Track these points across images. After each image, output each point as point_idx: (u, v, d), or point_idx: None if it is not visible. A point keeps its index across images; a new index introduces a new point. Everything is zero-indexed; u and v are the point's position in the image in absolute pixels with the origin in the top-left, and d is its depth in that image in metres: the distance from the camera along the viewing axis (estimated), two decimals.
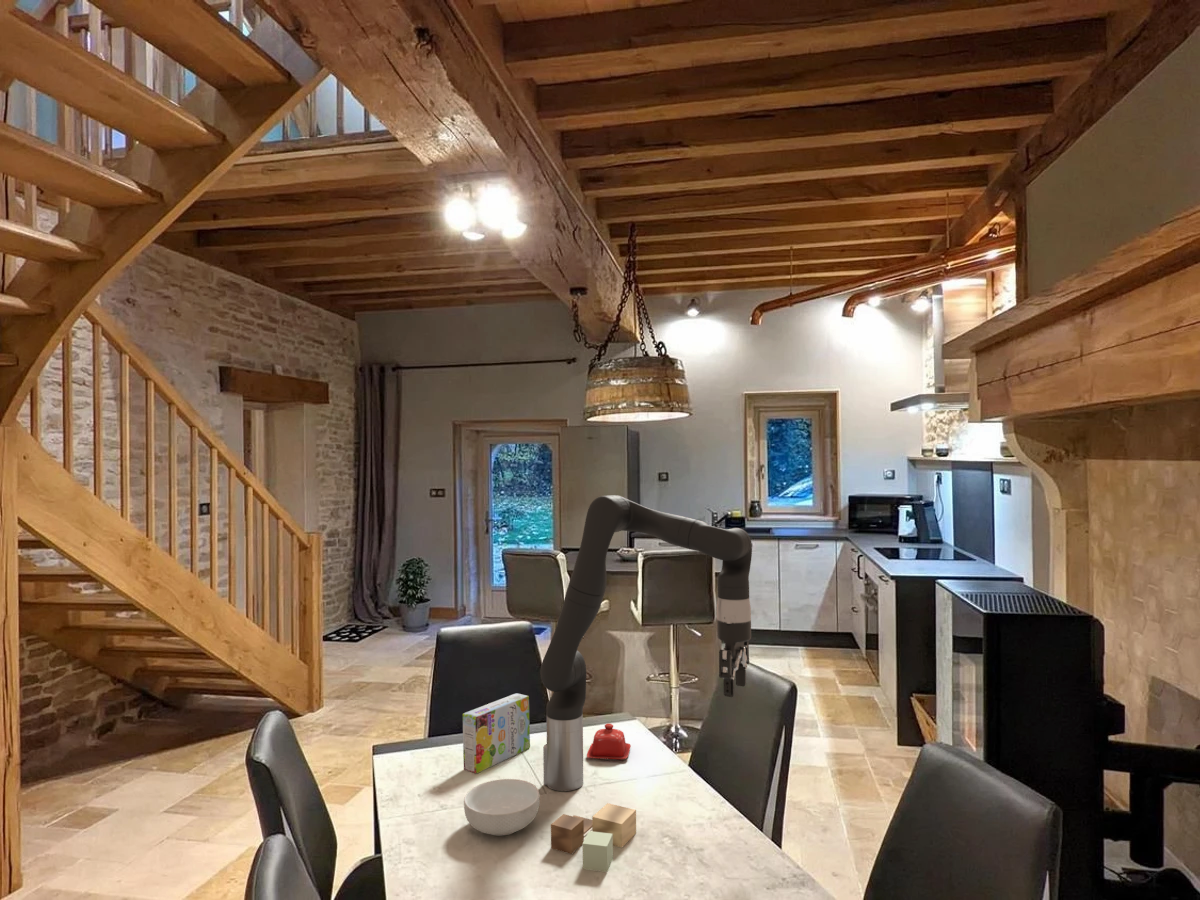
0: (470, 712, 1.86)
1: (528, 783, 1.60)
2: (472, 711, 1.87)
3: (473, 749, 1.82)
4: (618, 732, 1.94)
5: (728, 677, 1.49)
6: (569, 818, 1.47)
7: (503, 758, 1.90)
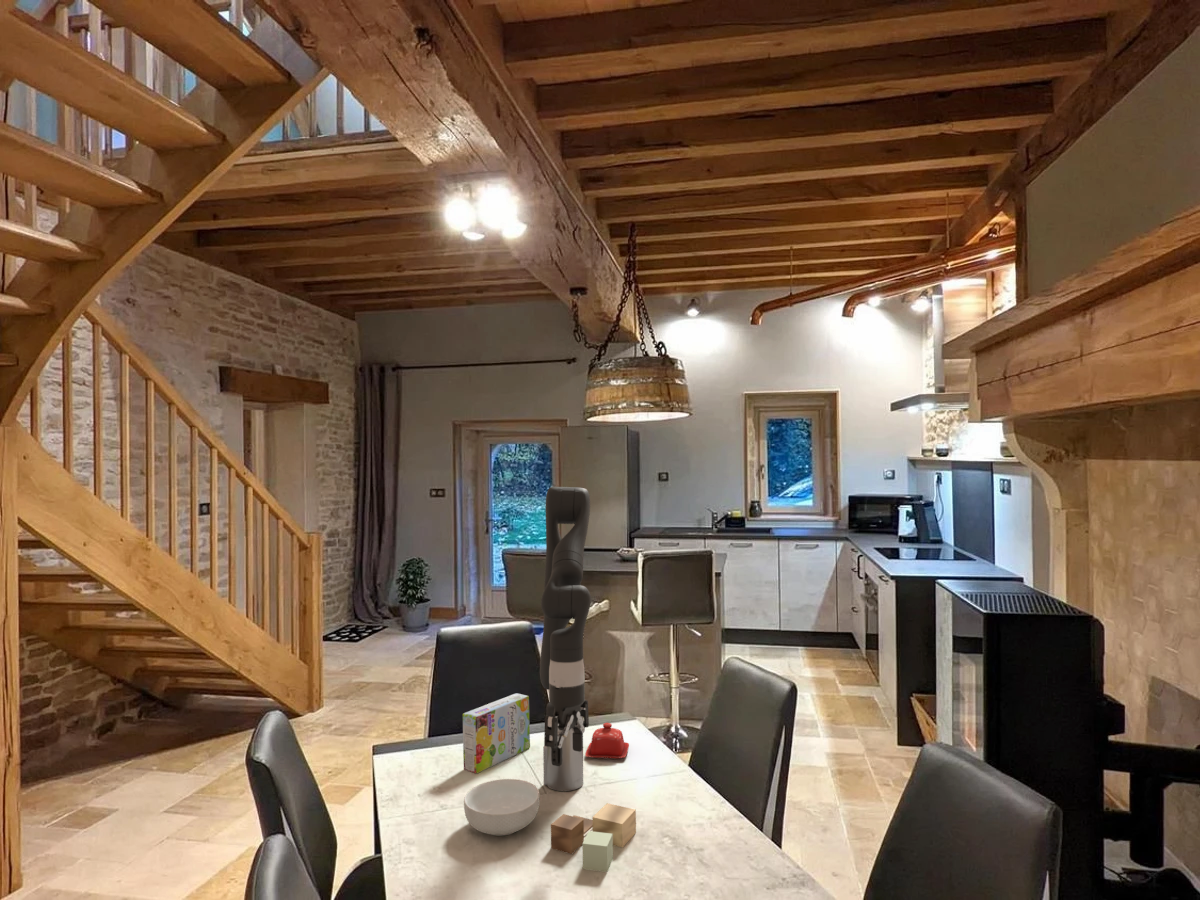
0: (470, 712, 1.86)
1: (528, 783, 1.60)
2: (472, 711, 1.87)
3: (473, 749, 1.82)
4: (616, 731, 1.94)
5: (553, 746, 1.40)
6: (569, 818, 1.47)
7: (503, 758, 1.90)
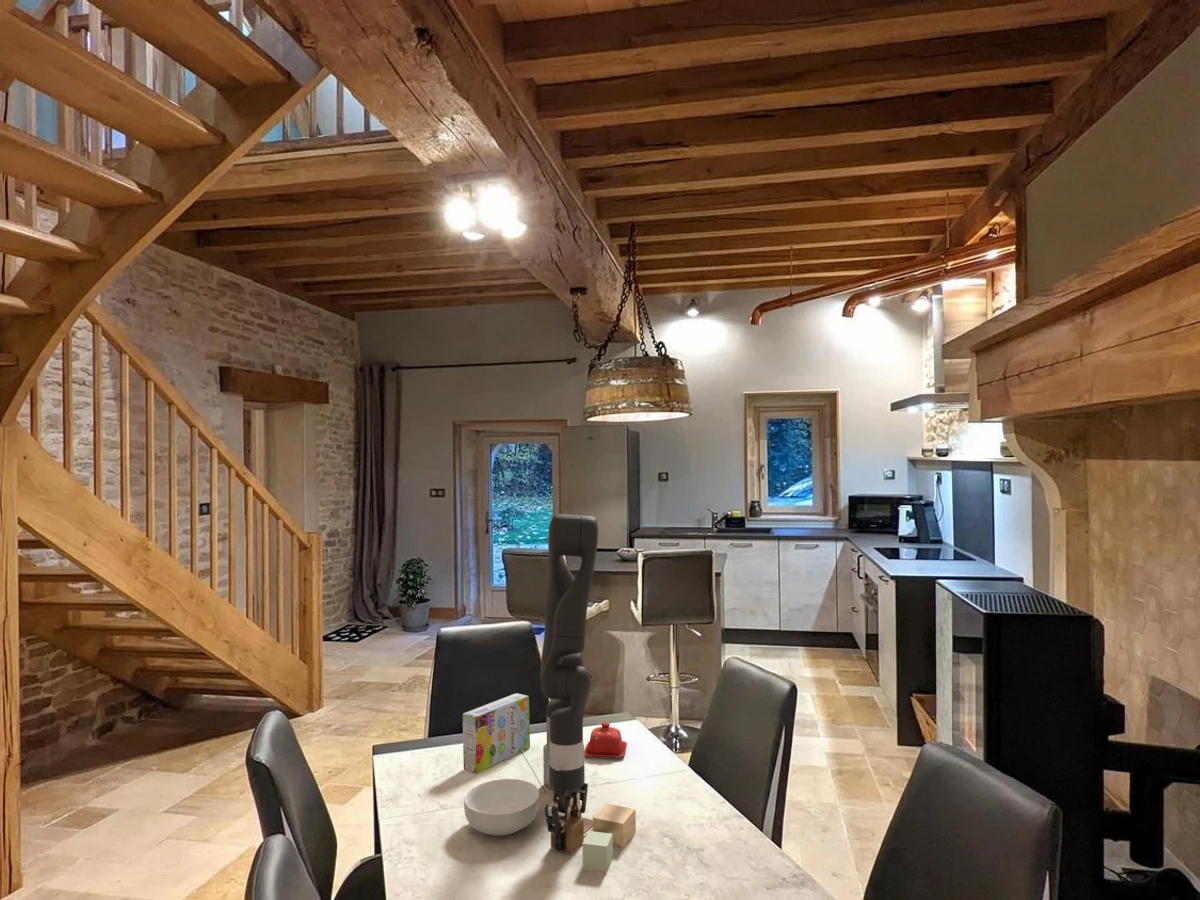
0: (470, 712, 1.86)
1: (528, 783, 1.60)
2: (472, 711, 1.87)
3: (473, 749, 1.82)
4: (614, 730, 1.95)
5: (556, 833, 1.41)
6: (569, 818, 1.47)
7: (503, 758, 1.90)
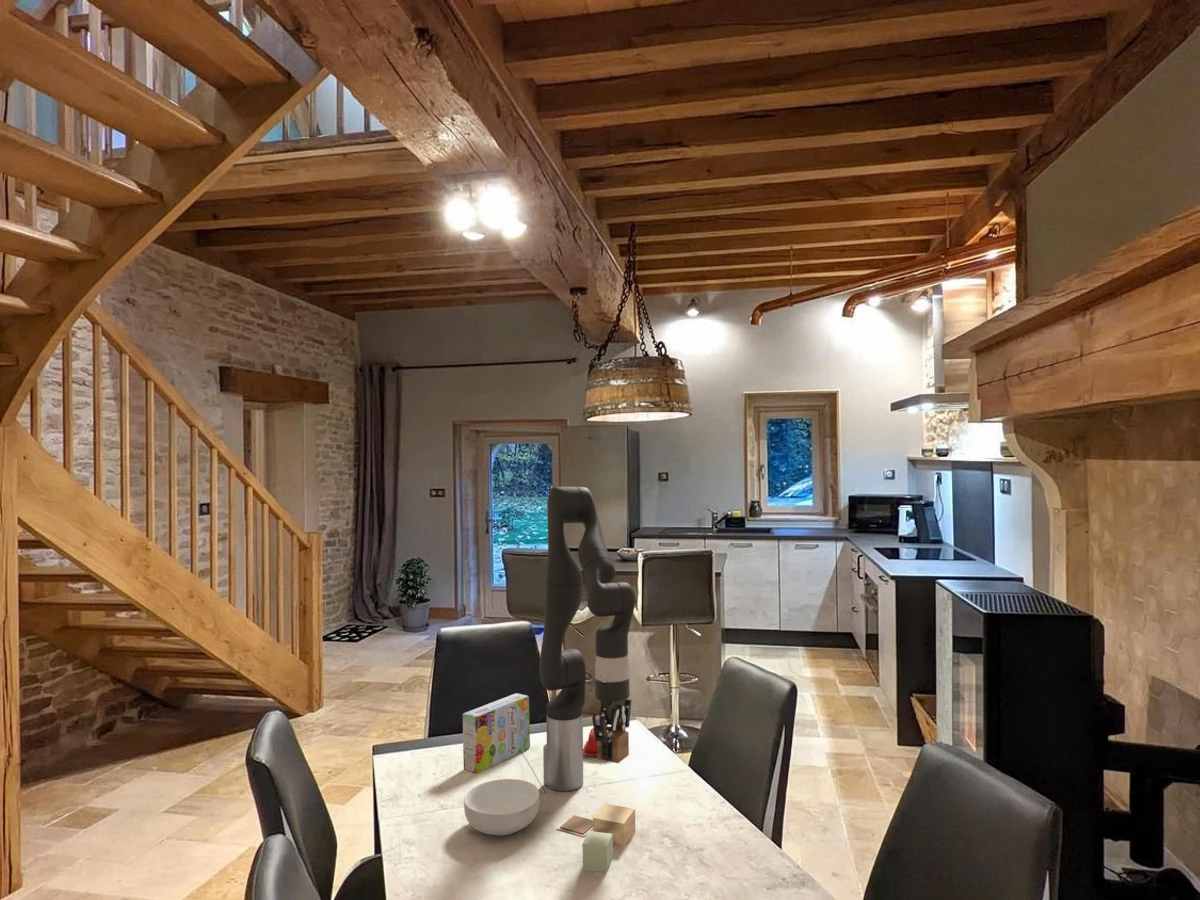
0: (470, 712, 1.86)
1: (528, 783, 1.60)
2: (472, 711, 1.87)
3: (473, 749, 1.82)
4: None
5: (604, 741, 1.45)
6: (614, 731, 1.52)
7: (503, 758, 1.90)
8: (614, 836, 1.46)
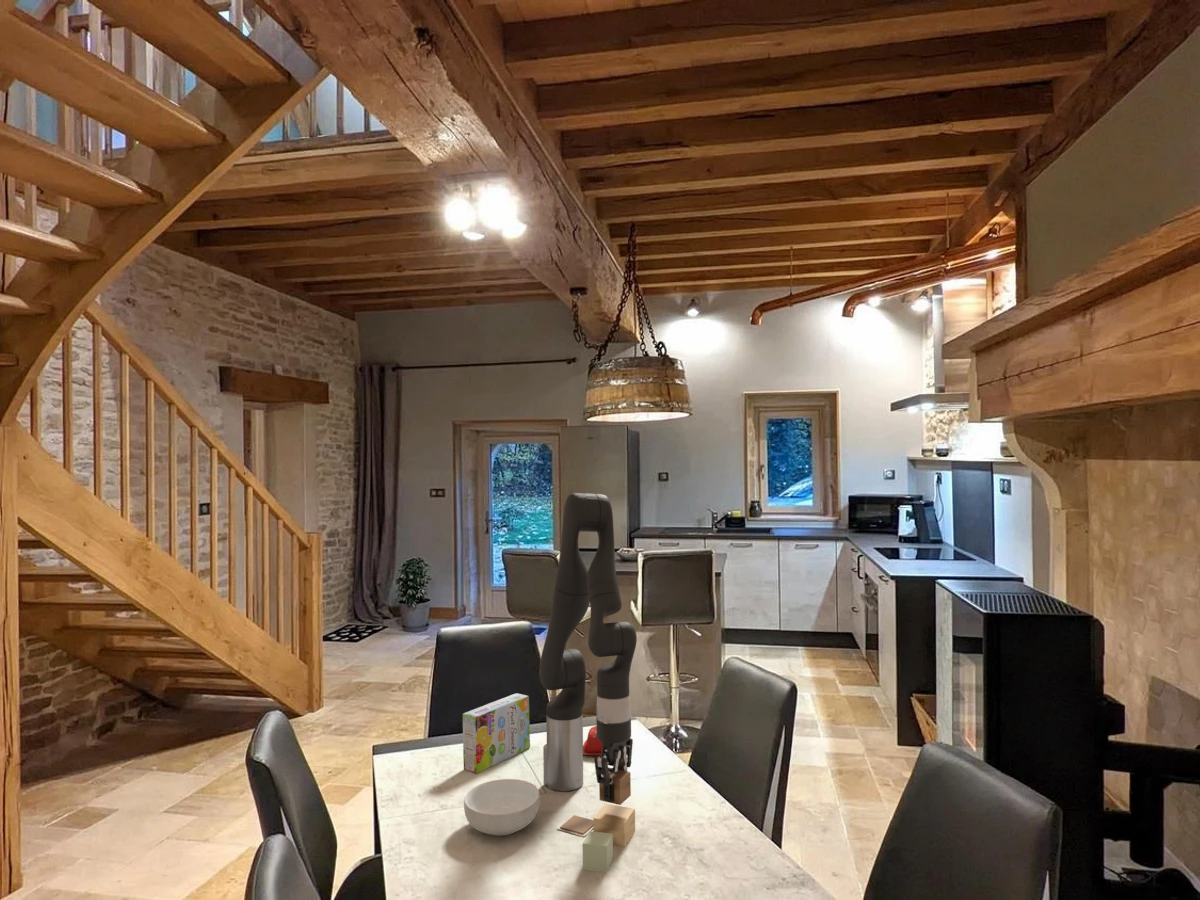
0: (470, 712, 1.86)
1: (528, 783, 1.60)
2: (472, 711, 1.87)
3: (473, 749, 1.82)
4: None
5: (606, 784, 1.45)
6: None
7: (503, 758, 1.90)
8: (614, 836, 1.46)
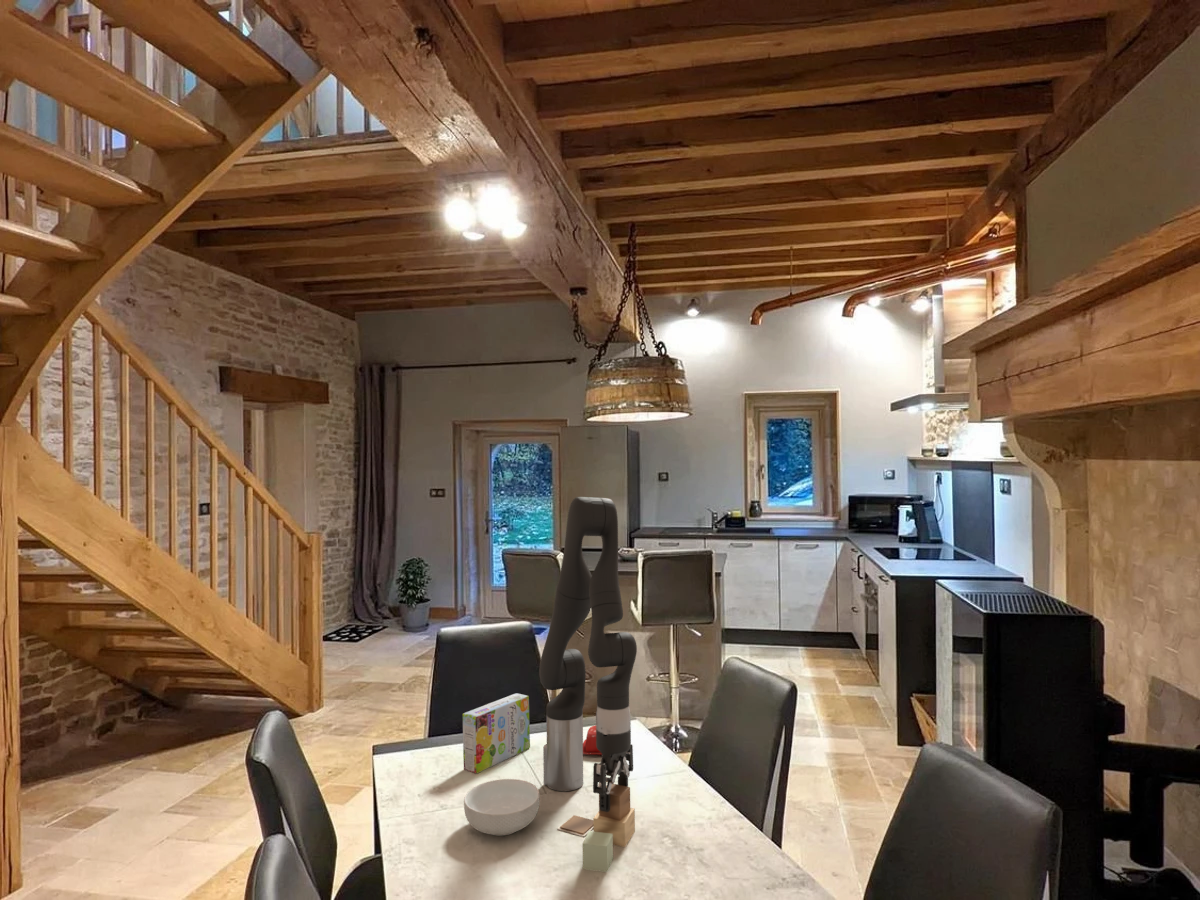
0: (470, 712, 1.86)
1: (528, 783, 1.60)
2: (472, 711, 1.87)
3: (473, 749, 1.82)
4: None
5: (602, 793, 1.43)
6: (616, 786, 1.51)
7: (503, 758, 1.90)
8: (615, 836, 1.46)
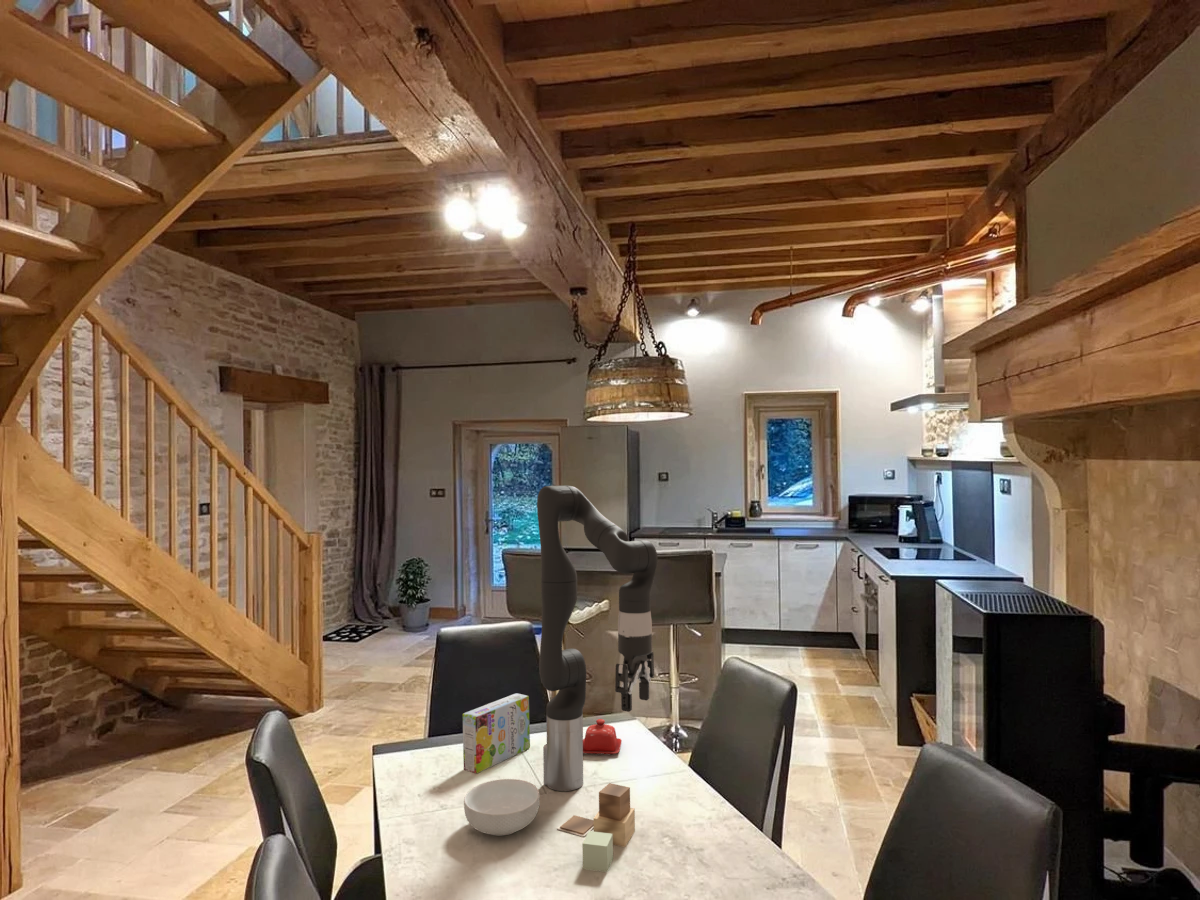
0: (470, 712, 1.86)
1: (528, 783, 1.60)
2: (472, 711, 1.87)
3: (473, 749, 1.82)
4: (609, 727, 1.97)
5: (623, 692, 1.47)
6: (615, 786, 1.51)
7: (503, 758, 1.90)
8: (615, 836, 1.46)
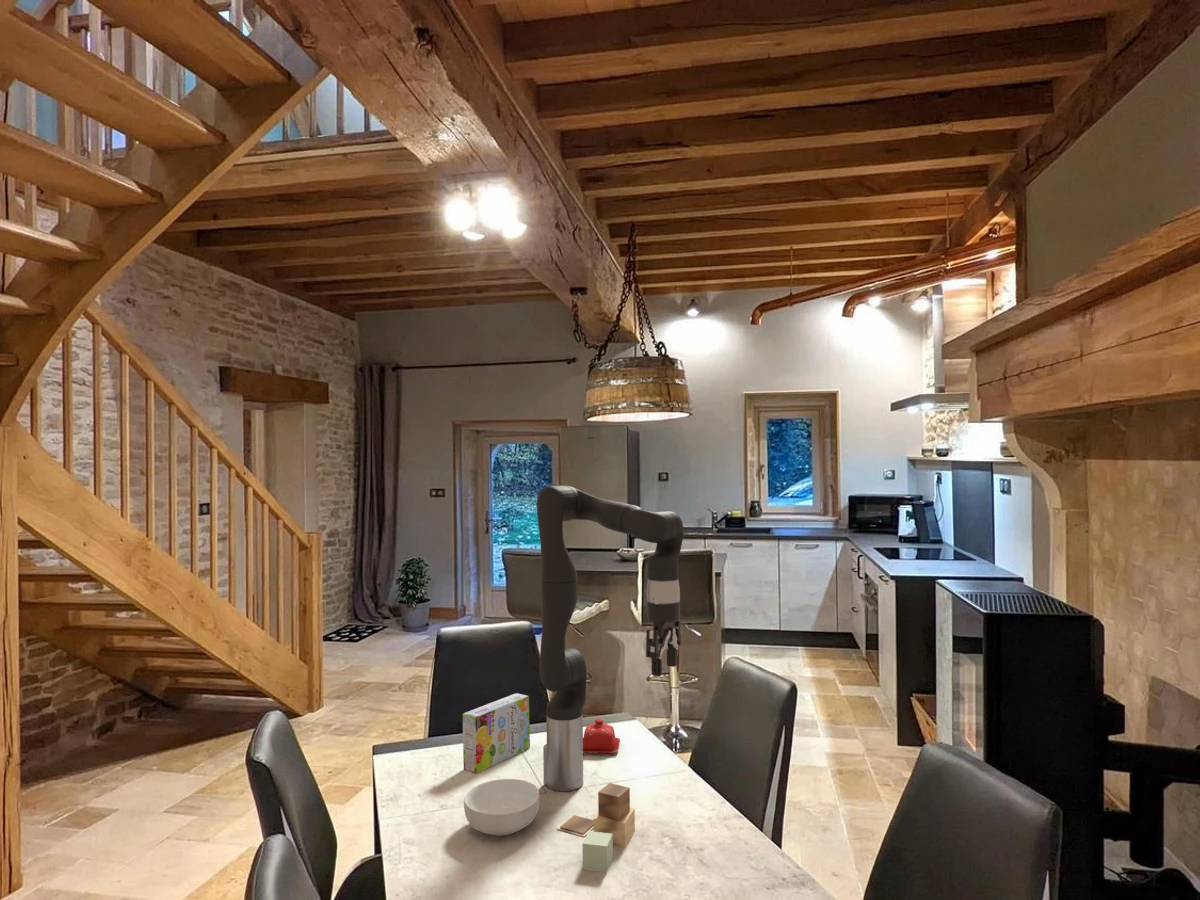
0: (470, 712, 1.86)
1: (528, 783, 1.60)
2: (472, 711, 1.87)
3: (473, 749, 1.82)
4: (608, 727, 1.98)
5: (654, 656, 1.52)
6: (615, 787, 1.51)
7: (503, 758, 1.90)
8: (615, 836, 1.46)
